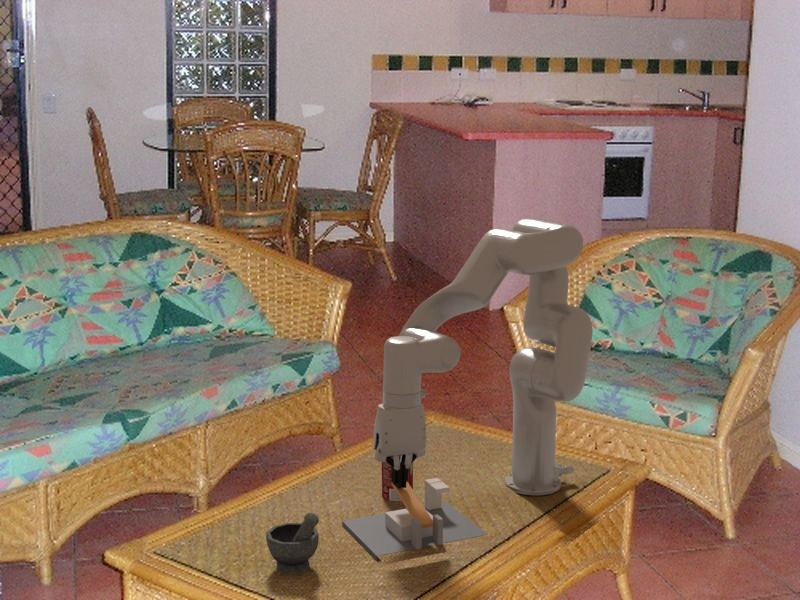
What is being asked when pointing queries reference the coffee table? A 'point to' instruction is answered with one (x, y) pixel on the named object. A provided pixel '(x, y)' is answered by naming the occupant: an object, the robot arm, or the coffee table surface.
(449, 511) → the board
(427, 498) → the block
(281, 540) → the mortar and pestle
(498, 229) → the robot arm
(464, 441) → the coffee table surface
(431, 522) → the strap
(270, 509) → the coffee table surface
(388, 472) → the soda can
